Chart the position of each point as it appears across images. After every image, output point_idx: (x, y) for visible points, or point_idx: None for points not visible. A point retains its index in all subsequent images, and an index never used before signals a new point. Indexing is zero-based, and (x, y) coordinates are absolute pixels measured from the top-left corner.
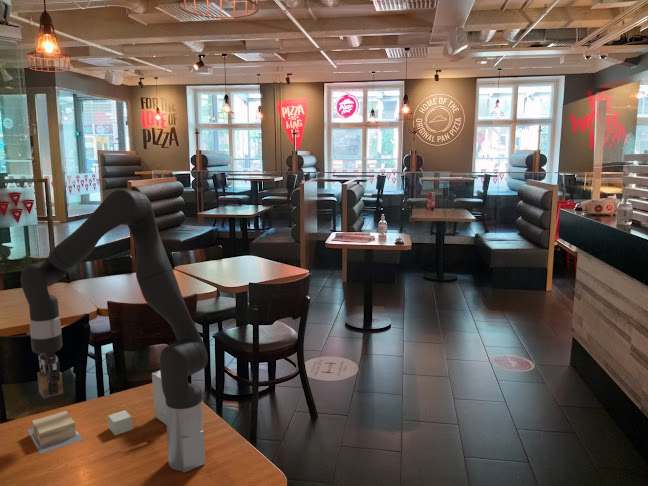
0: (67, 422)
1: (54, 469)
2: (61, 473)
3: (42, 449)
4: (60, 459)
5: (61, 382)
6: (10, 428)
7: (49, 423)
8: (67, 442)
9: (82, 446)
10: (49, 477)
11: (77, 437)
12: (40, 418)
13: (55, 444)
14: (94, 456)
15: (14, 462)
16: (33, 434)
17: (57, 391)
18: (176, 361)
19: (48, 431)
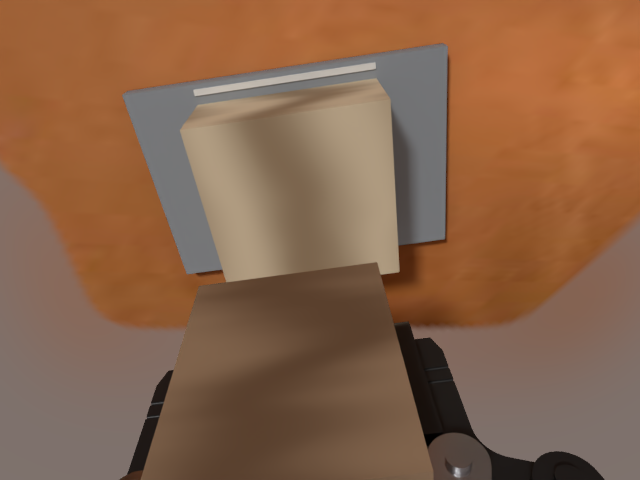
0: (358, 140)
1: (582, 192)
2: (636, 171)
3: (413, 229)
4: (523, 164)
5: (402, 359)
6: (124, 315)
7: (313, 227)
8: (423, 127)
9: (482, 55)
10: (623, 212)
11: (402, 73)
12: (224, 261)
13: (404, 178)
14: (629, 12)
15: (418, 306)
16: None
17: (409, 332)
18: None
19: (397, 235)
